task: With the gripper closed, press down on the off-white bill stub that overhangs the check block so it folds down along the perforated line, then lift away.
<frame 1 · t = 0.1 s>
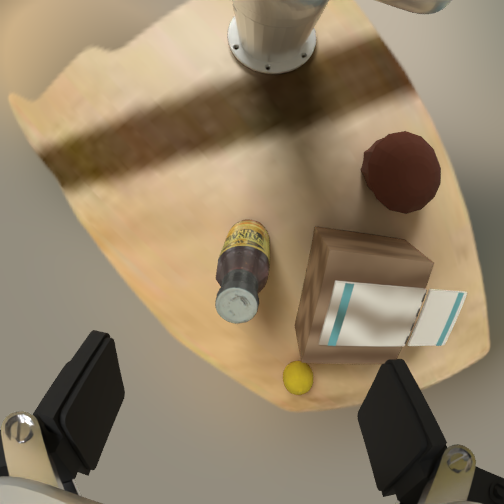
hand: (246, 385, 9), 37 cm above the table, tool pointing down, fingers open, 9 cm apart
check block: (350, 284, 49), on the table
lemon: (295, 362, 55), on the table
sauce bottle: (247, 237, 46), on the table
stub: (438, 319, 40), point 10 cm above the table, hinge at 0.0°
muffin: (386, 167, 42), on the table
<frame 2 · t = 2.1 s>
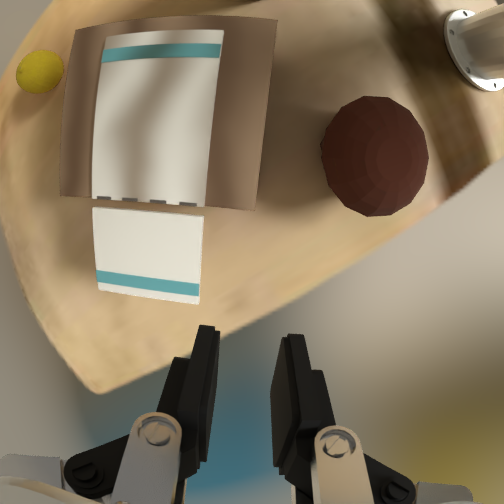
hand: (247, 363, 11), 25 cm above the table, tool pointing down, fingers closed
check block: (181, 113, 30), on the table
lemon: (58, 75, 28), on the table
stub: (144, 256, 25), point 10 cm above the table, hinge at 0.0°
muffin: (356, 152, 32), on the table
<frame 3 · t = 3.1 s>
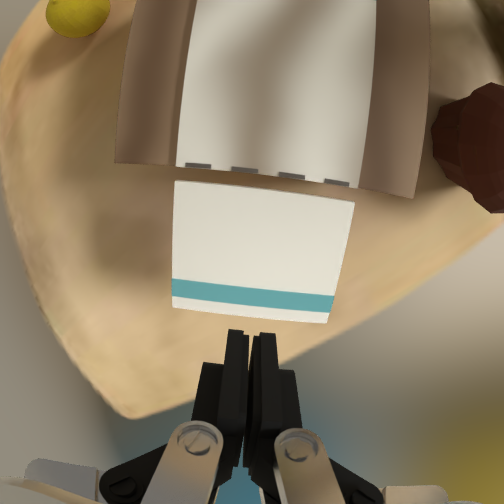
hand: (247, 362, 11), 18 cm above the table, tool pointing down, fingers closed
check block: (275, 73, 23), on the table
lemon: (99, 22, 20), on the table
stub: (257, 257, 18), point 10 cm above the table, hinge at 0.0°
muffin: (461, 142, 24), on the table
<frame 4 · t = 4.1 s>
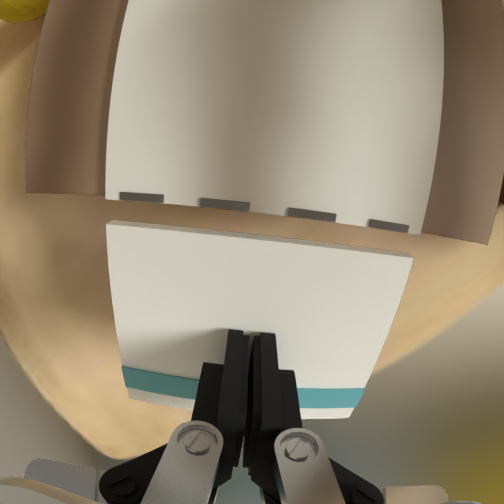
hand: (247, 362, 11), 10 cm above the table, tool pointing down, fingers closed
check block: (276, 51, 16), on the table
lemon: (54, 2, 13), on the table
stub: (250, 344, 10), point 10 cm above the table, hinge at 0.0°, touching gripper
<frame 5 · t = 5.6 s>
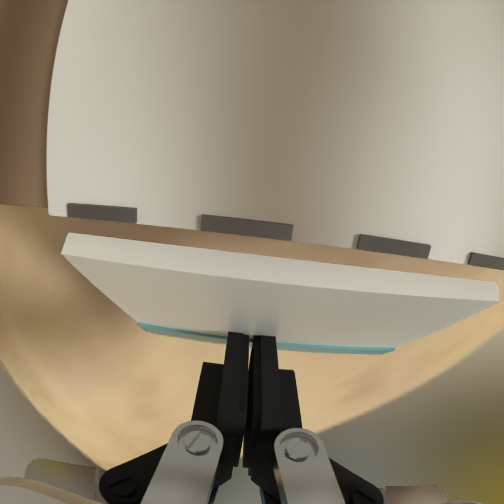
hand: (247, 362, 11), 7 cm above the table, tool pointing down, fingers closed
check block: (300, 21, 11), on the table
stub: (279, 324, 9), point 7 cm above the table, hinge at 41.5°, touching gripper
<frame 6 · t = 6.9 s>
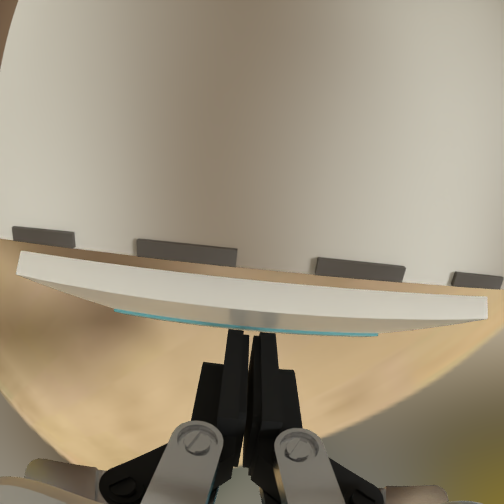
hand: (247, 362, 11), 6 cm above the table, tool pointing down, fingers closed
check block: (277, 22, 11), on the table
stub: (252, 317, 9), point 7 cm above the table, hinge at 52.8°
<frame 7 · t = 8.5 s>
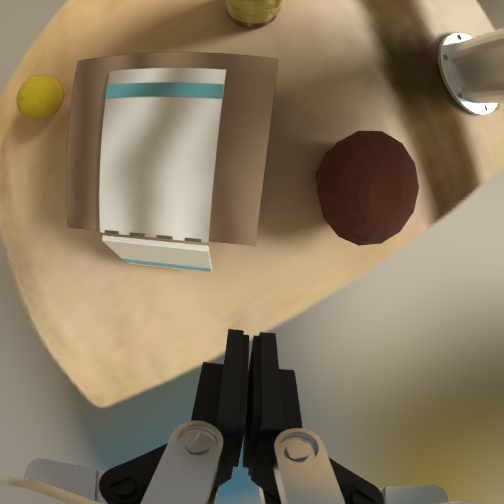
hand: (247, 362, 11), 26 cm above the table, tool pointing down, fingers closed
check block: (181, 143, 32), on the table
lemon: (58, 99, 29), on the table
sauce bottle: (252, 8, 27), on the table
stub: (161, 256, 29), point 7 cm above the table, hinge at 52.9°
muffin: (350, 180, 34), on the table
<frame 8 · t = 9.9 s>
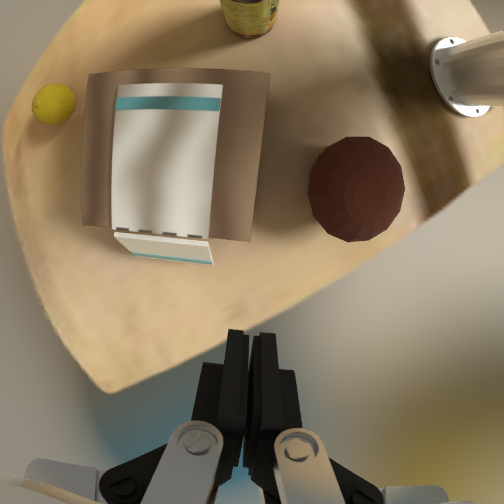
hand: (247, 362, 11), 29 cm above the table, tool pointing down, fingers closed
check block: (186, 147, 35), on the table
lemon: (71, 105, 33), on the table
sauce bottle: (250, 19, 29), on the table
stub: (166, 250, 33), point 7 cm above the table, hinge at 52.9°
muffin: (342, 181, 37), on the table
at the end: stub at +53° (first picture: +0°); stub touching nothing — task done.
